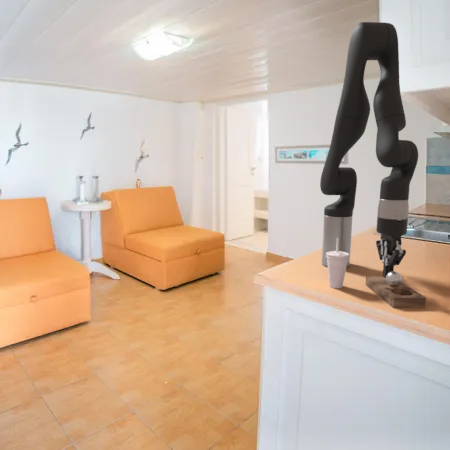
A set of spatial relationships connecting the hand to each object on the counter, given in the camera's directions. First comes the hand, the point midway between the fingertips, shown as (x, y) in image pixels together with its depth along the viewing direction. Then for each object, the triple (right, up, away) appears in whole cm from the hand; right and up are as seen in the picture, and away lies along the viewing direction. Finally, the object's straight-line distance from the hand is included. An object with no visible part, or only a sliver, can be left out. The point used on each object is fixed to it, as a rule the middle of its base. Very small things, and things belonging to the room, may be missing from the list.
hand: (387, 277), depth 103 cm
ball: (0, 0, -4) cm, 4 cm away
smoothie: (-13, -3, +4) cm, 14 cm away
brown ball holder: (0, -4, -3) cm, 5 cm away
